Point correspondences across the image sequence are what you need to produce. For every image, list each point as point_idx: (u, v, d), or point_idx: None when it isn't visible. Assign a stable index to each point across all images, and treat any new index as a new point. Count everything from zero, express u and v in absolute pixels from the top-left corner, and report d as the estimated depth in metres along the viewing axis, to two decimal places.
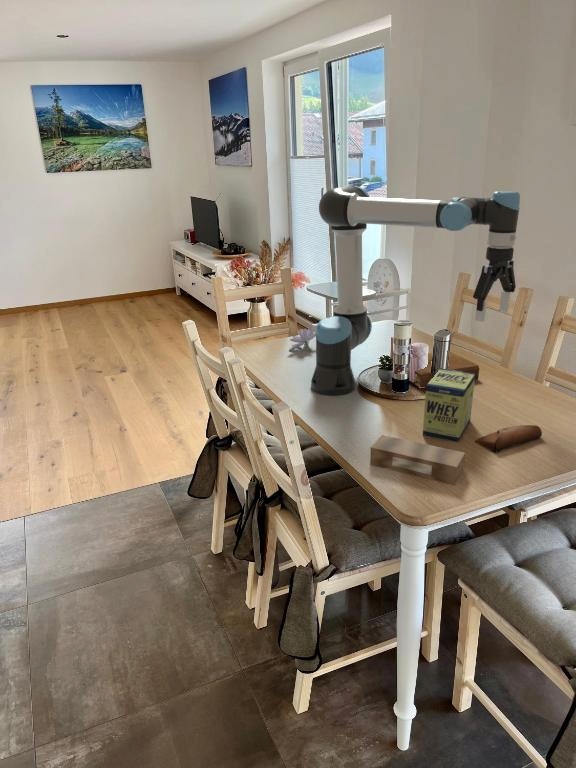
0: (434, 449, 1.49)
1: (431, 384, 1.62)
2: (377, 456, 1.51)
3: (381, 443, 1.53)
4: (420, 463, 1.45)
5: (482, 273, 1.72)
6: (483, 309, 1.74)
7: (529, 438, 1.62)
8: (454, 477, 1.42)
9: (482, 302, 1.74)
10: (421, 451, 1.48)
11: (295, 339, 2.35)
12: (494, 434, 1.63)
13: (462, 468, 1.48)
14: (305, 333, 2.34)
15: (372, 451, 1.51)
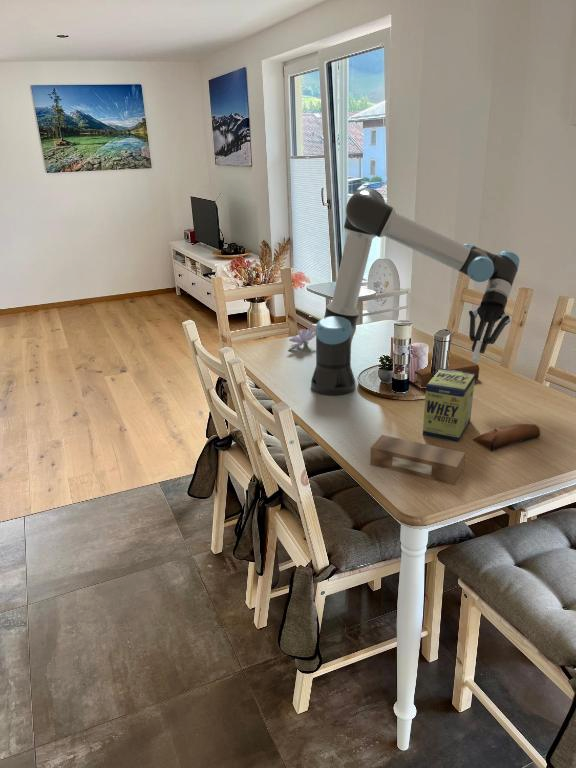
0: (434, 449, 1.49)
1: (431, 384, 1.62)
2: (377, 456, 1.51)
3: (381, 443, 1.53)
4: (420, 463, 1.45)
5: None
6: (475, 348, 1.82)
7: (527, 437, 1.62)
8: (454, 477, 1.42)
9: (475, 342, 1.83)
10: (421, 451, 1.48)
11: (294, 339, 2.35)
12: (492, 433, 1.63)
13: (462, 468, 1.48)
14: (304, 333, 2.34)
15: (372, 451, 1.51)
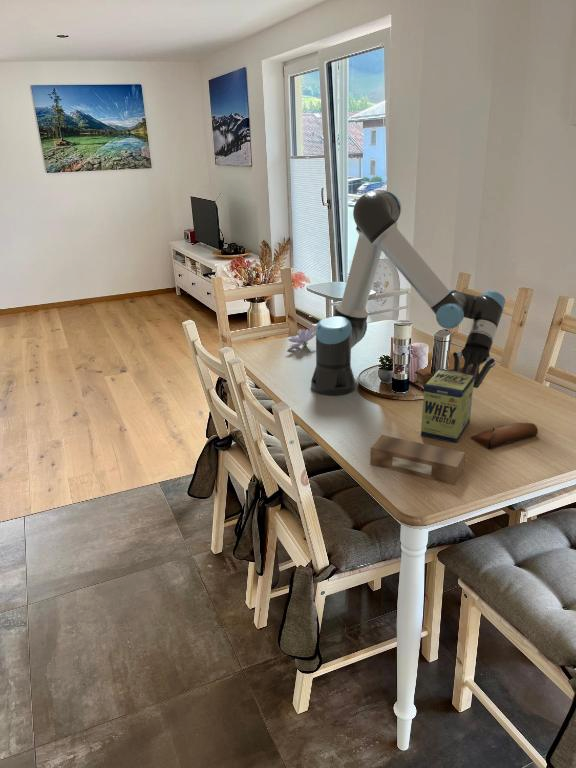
0: (434, 449, 1.49)
1: (429, 384, 1.62)
2: (377, 456, 1.51)
3: (381, 443, 1.53)
4: (420, 463, 1.45)
5: None
6: None
7: (524, 435, 1.63)
8: (454, 477, 1.42)
9: None
10: (421, 451, 1.48)
11: (293, 339, 2.35)
12: (489, 431, 1.64)
13: (462, 468, 1.48)
14: (303, 333, 2.34)
15: (372, 451, 1.51)
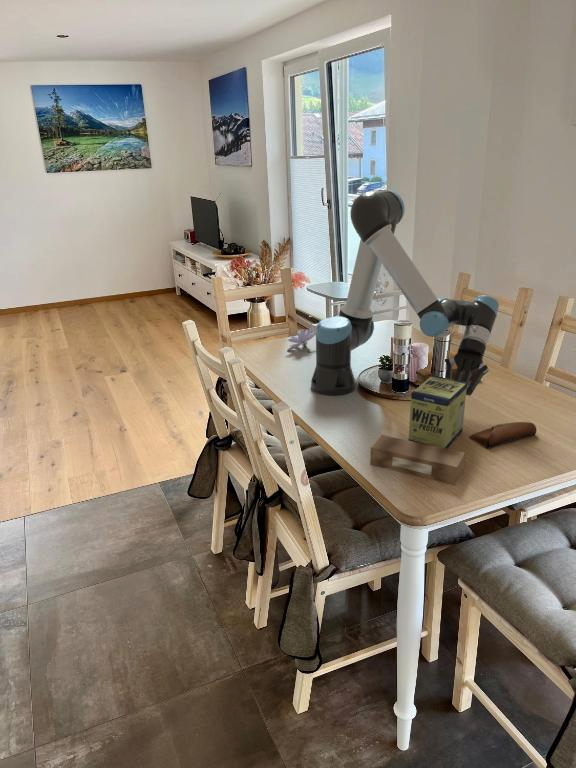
0: (434, 449, 1.49)
1: (417, 392, 1.58)
2: (377, 456, 1.51)
3: (381, 443, 1.53)
4: (420, 463, 1.45)
5: None
6: None
7: (523, 435, 1.64)
8: (454, 477, 1.42)
9: None
10: (421, 451, 1.48)
11: (293, 339, 2.35)
12: (488, 430, 1.65)
13: (462, 468, 1.48)
14: (303, 333, 2.34)
15: (372, 451, 1.51)
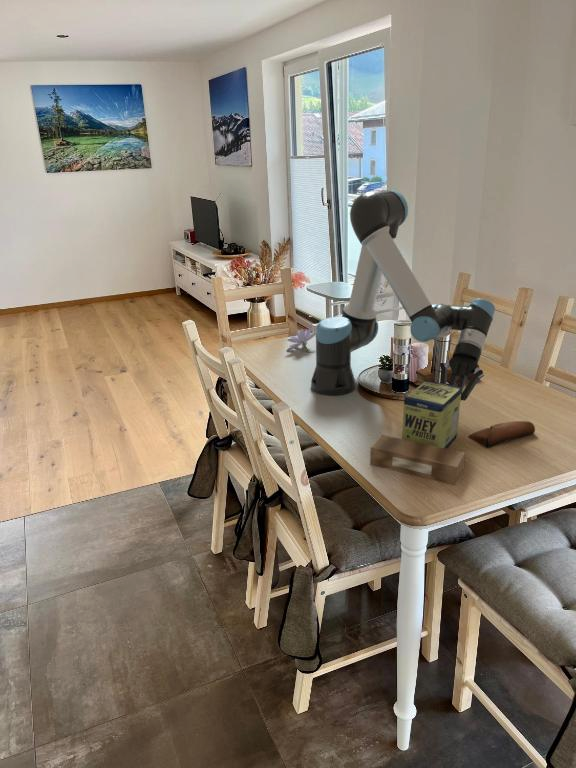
0: (434, 449, 1.49)
1: (410, 397, 1.54)
2: (377, 456, 1.51)
3: (381, 443, 1.53)
4: (420, 463, 1.45)
5: None
6: None
7: (522, 434, 1.64)
8: (454, 477, 1.42)
9: None
10: (421, 451, 1.48)
11: (292, 339, 2.35)
12: (487, 430, 1.65)
13: (462, 468, 1.48)
14: (302, 333, 2.34)
15: (372, 451, 1.51)
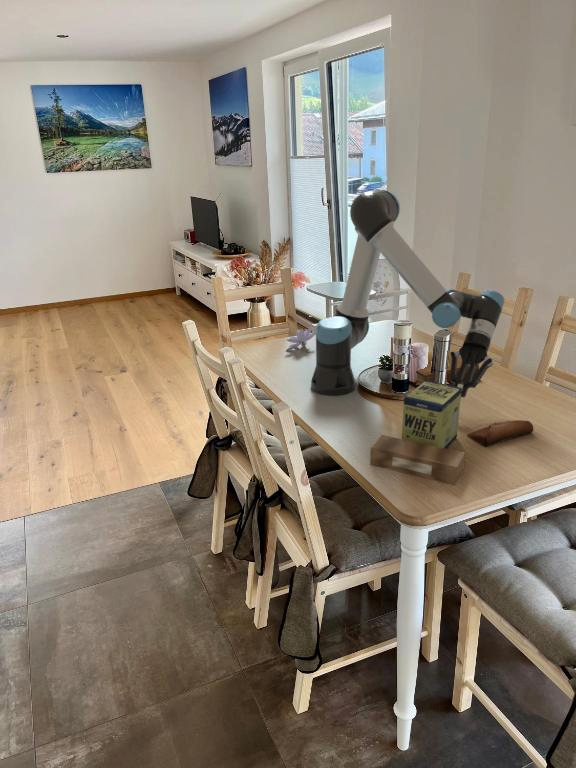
0: (434, 449, 1.49)
1: (409, 397, 1.54)
2: (377, 456, 1.51)
3: (381, 443, 1.53)
4: (420, 463, 1.45)
5: None
6: None
7: (520, 433, 1.65)
8: (454, 477, 1.42)
9: (456, 385, 1.76)
10: (421, 451, 1.48)
11: (292, 339, 2.35)
12: (486, 429, 1.66)
13: (462, 468, 1.48)
14: (302, 333, 2.33)
15: (372, 451, 1.51)
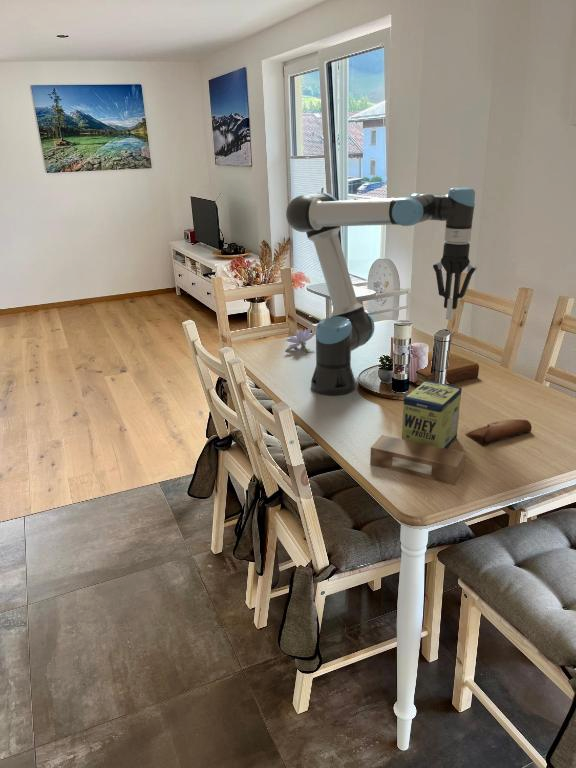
0: (434, 449, 1.49)
1: (409, 397, 1.54)
2: (377, 456, 1.51)
3: (381, 443, 1.53)
4: (420, 463, 1.45)
5: None
6: (447, 307, 1.83)
7: (519, 432, 1.65)
8: (454, 477, 1.42)
9: (446, 300, 1.83)
10: (421, 451, 1.48)
11: (291, 339, 2.35)
12: (484, 428, 1.66)
13: (462, 468, 1.48)
14: (301, 333, 2.33)
15: (372, 451, 1.51)
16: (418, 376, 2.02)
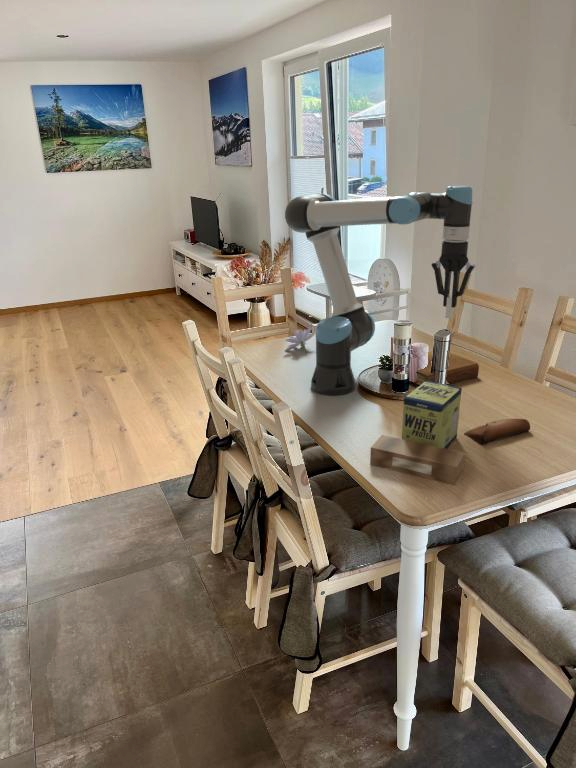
0: (434, 449, 1.49)
1: (409, 397, 1.54)
2: (377, 456, 1.51)
3: (381, 443, 1.53)
4: (420, 463, 1.45)
5: None
6: (446, 305, 1.83)
7: (517, 431, 1.66)
8: (454, 477, 1.42)
9: (445, 298, 1.83)
10: (421, 451, 1.48)
11: (291, 339, 2.35)
12: (483, 427, 1.67)
13: (462, 468, 1.48)
14: (301, 334, 2.33)
15: (372, 451, 1.51)
16: (419, 376, 2.02)
